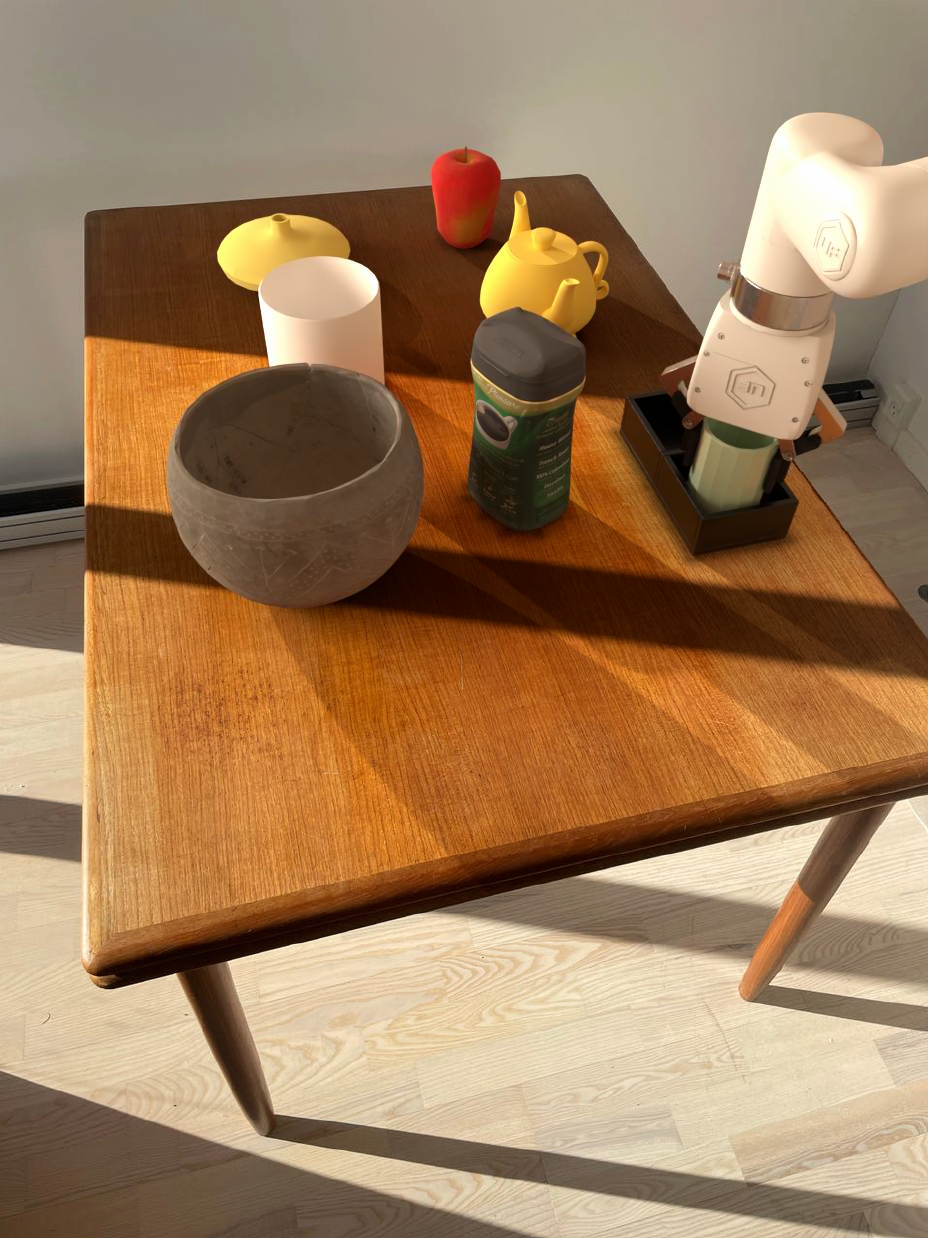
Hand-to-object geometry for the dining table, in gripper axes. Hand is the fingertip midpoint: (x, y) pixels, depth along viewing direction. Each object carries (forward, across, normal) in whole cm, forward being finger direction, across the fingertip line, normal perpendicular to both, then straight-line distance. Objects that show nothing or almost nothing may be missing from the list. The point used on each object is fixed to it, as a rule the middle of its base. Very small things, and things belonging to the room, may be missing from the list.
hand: (730, 469), depth 88 cm
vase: (+6, -60, +16) cm, 62 cm away
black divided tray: (+5, -3, +3) cm, 7 cm away
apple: (+6, -44, +34) cm, 56 cm away
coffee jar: (+6, -18, -8) cm, 20 cm away
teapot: (+6, -28, +20) cm, 35 cm away
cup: (+6, -42, -2) cm, 43 cm away
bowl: (+6, -30, -24) cm, 39 cm away
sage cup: (+3, 0, 0) cm, 3 cm away
